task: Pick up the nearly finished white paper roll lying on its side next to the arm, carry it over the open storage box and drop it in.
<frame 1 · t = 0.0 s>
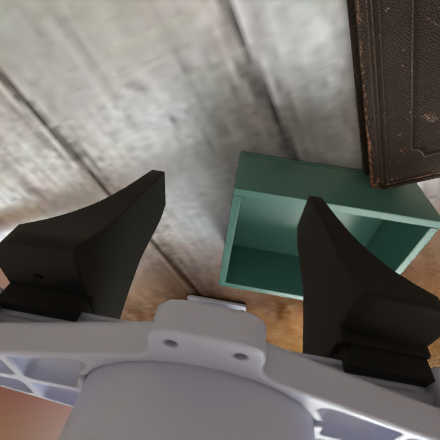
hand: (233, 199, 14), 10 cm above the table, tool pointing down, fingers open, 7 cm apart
open storage box: (305, 216, 27), on the table
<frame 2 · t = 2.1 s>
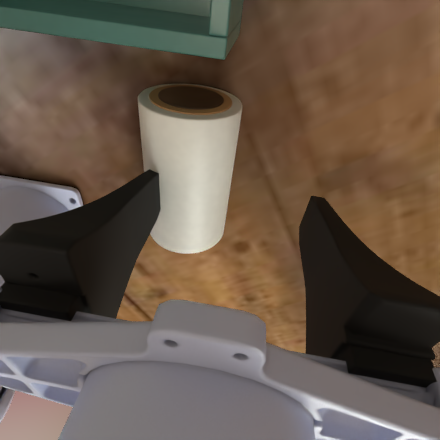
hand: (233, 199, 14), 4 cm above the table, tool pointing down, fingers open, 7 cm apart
paper roll: (228, 169, 16), point 1 cm above the table, tilted 62°, touching gripper
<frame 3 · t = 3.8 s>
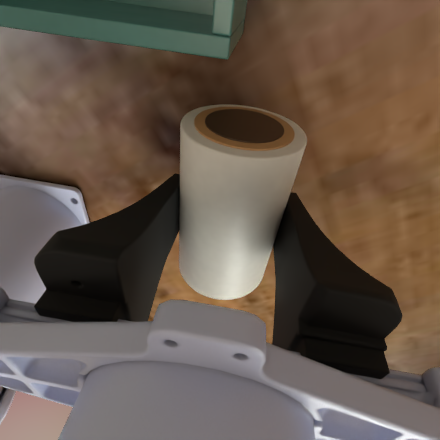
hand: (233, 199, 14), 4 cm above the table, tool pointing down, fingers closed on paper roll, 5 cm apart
paper roll: (280, 222, 13), point 5 cm above the table, tilted 99°, touching gripper
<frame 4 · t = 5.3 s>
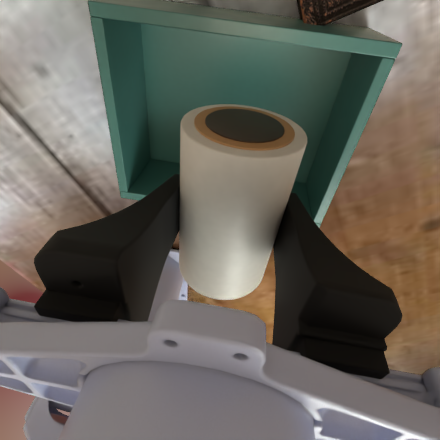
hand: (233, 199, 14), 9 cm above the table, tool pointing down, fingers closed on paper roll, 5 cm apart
open storage box: (236, 107, 20), on the table
paper roll: (281, 222, 13), point 11 cm above the table, tilted 99°, touching gripper
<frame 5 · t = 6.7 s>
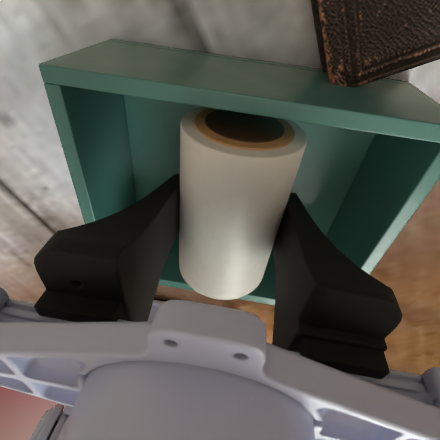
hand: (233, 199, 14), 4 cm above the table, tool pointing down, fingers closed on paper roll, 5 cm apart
open storage box: (239, 164, 17), on the table
paper roll: (280, 221, 13), point 5 cm above the table, tilted 99°, touching gripper
when the fingers open (2 cm above the table, at t = 7.7 s): paper roll stays where it is, resting on open storage box.
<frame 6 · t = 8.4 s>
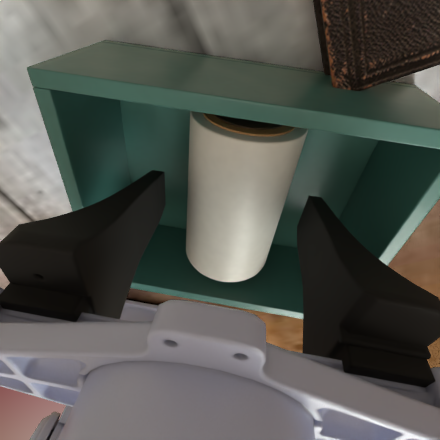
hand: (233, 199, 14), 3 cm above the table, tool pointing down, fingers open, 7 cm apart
open storage box: (238, 169, 16), on the table
paper roll: (283, 205, 14), point 3 cm above the table, tilted 96°, touching open storage box
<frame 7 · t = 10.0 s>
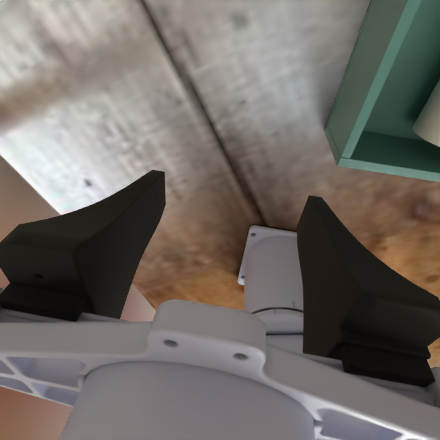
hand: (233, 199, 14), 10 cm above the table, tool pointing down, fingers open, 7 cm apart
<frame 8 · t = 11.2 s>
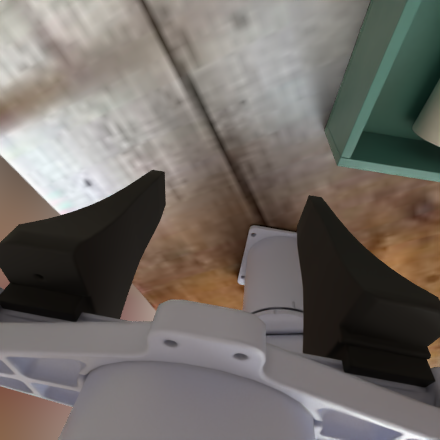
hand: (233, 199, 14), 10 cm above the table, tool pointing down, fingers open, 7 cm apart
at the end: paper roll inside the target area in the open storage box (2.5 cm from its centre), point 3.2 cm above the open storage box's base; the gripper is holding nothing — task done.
